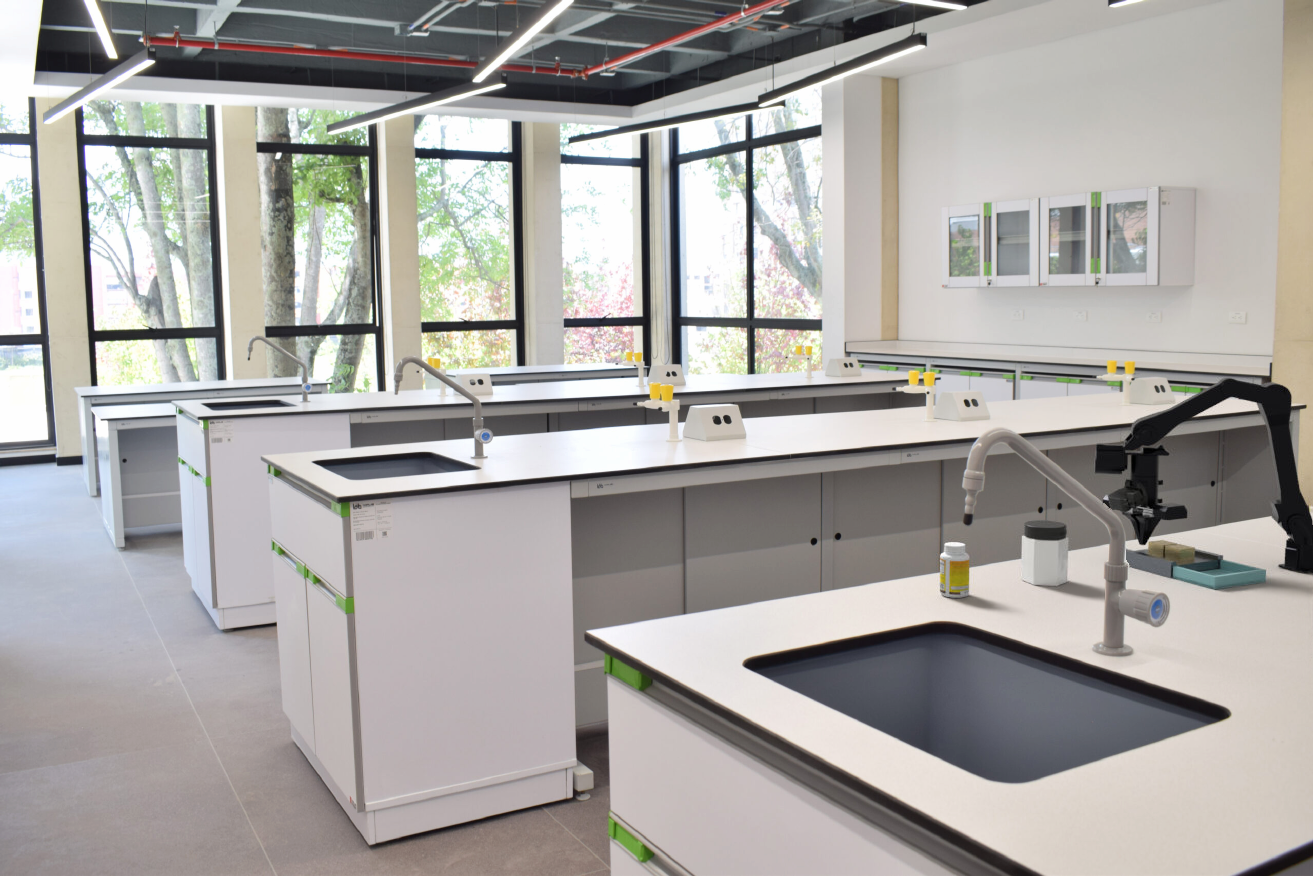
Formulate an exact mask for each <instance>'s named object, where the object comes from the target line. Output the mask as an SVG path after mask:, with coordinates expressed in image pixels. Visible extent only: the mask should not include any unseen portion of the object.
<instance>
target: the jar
mask: <svg viewBox="0 0 1313 876" xmlns="http://www.w3.org/2000/svg"><path fill="white" fill-rule="evenodd" d="M1023 525H1024V526H1023V527H1024V529H1023V531H1024V533H1023V534H1024V535H1022V536H1021V567H1020V571H1021V572H1020V574H1021V575H1020V580H1021V581H1023V582H1026V583H1028V584H1030V585H1033V586H1044V587H1058V586H1061V585H1063V584H1066V583H1067V582H1068V571H1069V570H1068V567H1069V537H1067V534H1068V532H1067V531H1068V530H1067V524H1066V523H1063V522H1060V521H1055V520H1054V521H1053V520H1045V519H1043V520H1040V519H1039V520H1027V521H1026V522H1024V524H1023Z"/></svg>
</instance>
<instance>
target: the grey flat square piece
mask: <svg viewBox="0 0 1313 876" xmlns="http://www.w3.org/2000/svg"><path fill="white" fill-rule="evenodd" d="M1125 549H1126V560H1127V562H1128V563H1129V565H1130V567H1129V568H1131V569H1132V568H1133V569H1136V570H1138V571H1139V570H1140V571H1143V572H1148V573H1151V574H1155V575H1158V576H1162V577H1166V578H1168V579H1169V578H1170V579H1174V578H1173V566H1178V567H1182V568H1186V569H1190V570H1194V571H1197V572H1201V571H1208V570H1215V569H1220V563H1221V560H1224V555H1222V554H1218V553H1214V552H1211V551H1206V550H1201V549H1197V548H1195V559H1193V560H1185V561H1178V560H1174V559H1170V558H1166V557H1162V556H1158V555H1154V554H1150V553H1148V548H1144V549H1136V550H1132V549H1128V548H1125Z"/></svg>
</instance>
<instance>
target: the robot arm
mask: <svg viewBox="0 0 1313 876" xmlns="http://www.w3.org/2000/svg"><path fill="white" fill-rule="evenodd" d="M1230 398H1235V399H1239V400H1243V401H1248V402H1252V403H1256V405H1257V408H1258V411H1259V413H1260V416H1261V417H1262V419H1263V422H1264V423H1265V424H1264V425H1266V429H1267V430H1266V431H1267V434H1268V441H1269V447H1270V452H1271V459H1272V464H1273V471H1274V476H1275V482H1276V489H1277V493H1276V498H1275V499H1269V501H1268V502H1269V504H1270V507H1271V510H1272V512H1271V513H1272V515H1271V518H1272V520H1274V521H1275V523H1277V525H1278V526H1279V527H1280V528H1281V529H1282V530H1284V532H1285V533H1286V536H1287V537H1289V538H1288V539H1286V541H1285V548H1284V563H1279V564H1277V567H1278V568H1283V569H1287V570H1290V571H1295V572H1300V573H1303V574H1304V573H1305V574H1309V573H1310V574H1311V573H1313V516H1312V515H1311V512H1310V509H1309V507H1308V505H1307V502H1306V500H1305V497H1304V496H1303V494H1302V492H1301V488H1300V483H1299V482H1300V481H1299V478H1298V477H1299V476H1298V472H1297V471H1298V470H1297V464H1296V460H1295V459H1296V458H1295V453H1294V452H1295V451H1294V448H1293V441H1292V435H1291V430H1290V429H1291V428H1290V423H1291V422H1290V421H1291V414H1292V399H1293V397H1292V393H1291V391H1290V390H1289V388H1288V387H1286V386H1285V385H1283V384H1280V383H1277V382H1269V381H1268V382H1265V383H1263V384H1258V383H1254V382H1248V381H1243V380H1238V379H1236V378H1233V377H1224V378H1221V379H1220V380H1219V381H1218V382H1216V383H1214V384H1213V385H1211V386H1208V387H1207V388H1205V389H1203V390H1201V391H1199V392H1198V393H1196V394H1193V395H1192V396H1190V397H1188V398H1187V399H1184V400H1182V401H1181V402H1178V403H1177V404H1175V405H1174V406H1172V407H1169V408H1167V409H1165V410H1162V411H1157V412H1155V413H1154V412H1153V413H1151V414H1148V415H1145V416H1143V417H1140V418H1137V419H1136V420H1135V421H1134V422H1133V423H1132V424H1131V427H1130V433H1129V434H1128V435H1127V436H1126V438H1125V439H1123V441H1122V442H1121V444H1113V443H1112V444H1111V443H1110V444H1108V443H1102V442H1098V443H1096V444H1095V456H1094V458H1093V460H1094V463H1093V464H1094V468H1093V471H1094V474H1096V475H1097V474H1098V475H1122V474H1123V472H1125V471H1127V470H1128V466H1129V462H1128V461H1129V460H1128V457H1129V456H1130V469H1129V472H1130V475H1129V476H1130V477H1129V478H1126V479H1125V481H1124V487H1121V488H1119V489H1117V490H1115V491H1113V492H1112V493H1110V494H1105V496H1104V497H1103V498H1102V504H1103V503H1105V504H1106V505H1107V506H1108V507H1109V508H1111V509H1112V511H1119V512H1121V514H1122V515H1123V516H1125V517H1126V518H1128V520H1130V522H1131V525H1132V527H1133V530H1134V533H1135V536H1136V539H1137V541H1138V544H1139V545H1141V546H1146V545H1147V543H1148V542H1149V541H1150V540H1149V539H1150V538H1151V536H1152V534H1153V533H1154V530H1155V529H1156V528H1157V526H1158V525H1159V523H1160V522H1161V521H1162V520H1163V521H1173V520H1185V519H1188V508H1187V507H1186V506H1185V505H1184V504H1178V503H1174V502H1168V503H1167V502H1166V503H1163V501H1164V500H1163V499H1164V498H1160V497H1159V489H1160V487H1159V486H1161V485H1162V486H1163V485H1164V480H1163V479H1160V457H1163V456H1164V457H1168V456H1169V455H1170V452H1169V451H1168V450H1167V449H1166V448H1164V445H1163V444H1162V443H1159V444H1158V445H1157V446H1155V447H1154V446H1153V445H1155V444H1157V443H1158V442H1159V441H1161V440H1162V439H1163V438H1165V437H1166V436H1167V435H1168V434H1170V433H1171V432H1172V431H1173V430H1174V429H1175V428H1177V426H1179V425H1180V424H1183V423H1184V422H1187V421H1188V420H1190V419H1192V418H1193V417H1195V416H1198V415H1199V414H1200V415H1201V413H1204V412H1205V411H1207V410H1208V409H1211V408H1213V407H1215V406H1216V405H1218V404H1220V403H1222V402H1224V401H1226V400H1228V399H1230ZM1150 446H1151V447H1150ZM1141 447H1142V448H1141ZM1139 448H1141V450H1137V449H1139ZM1109 508H1108V509H1109Z"/></svg>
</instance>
